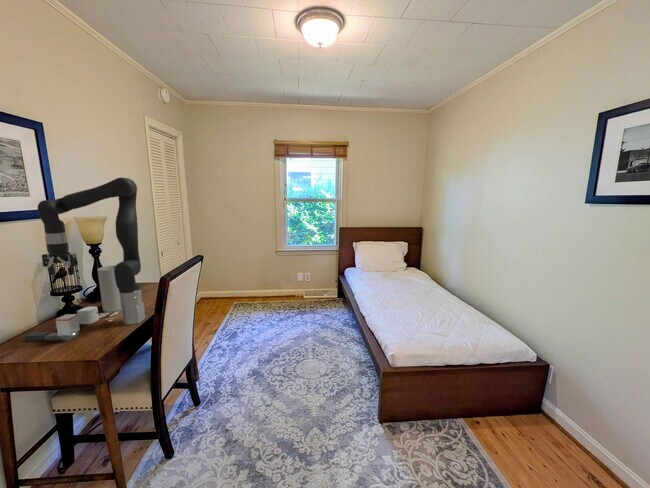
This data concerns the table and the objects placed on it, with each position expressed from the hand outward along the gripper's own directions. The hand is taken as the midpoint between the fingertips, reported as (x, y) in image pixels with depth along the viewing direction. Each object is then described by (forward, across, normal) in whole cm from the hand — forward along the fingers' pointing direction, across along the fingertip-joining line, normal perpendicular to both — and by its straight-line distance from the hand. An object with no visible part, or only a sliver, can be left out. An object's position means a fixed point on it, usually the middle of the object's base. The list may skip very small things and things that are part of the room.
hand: (62, 274), depth 136 cm
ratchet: (+28, -1, +10) cm, 30 cm away
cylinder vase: (+28, -5, -26) cm, 39 cm away
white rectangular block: (+25, -8, +10) cm, 28 cm away
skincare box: (+28, -3, -8) cm, 30 cm away
